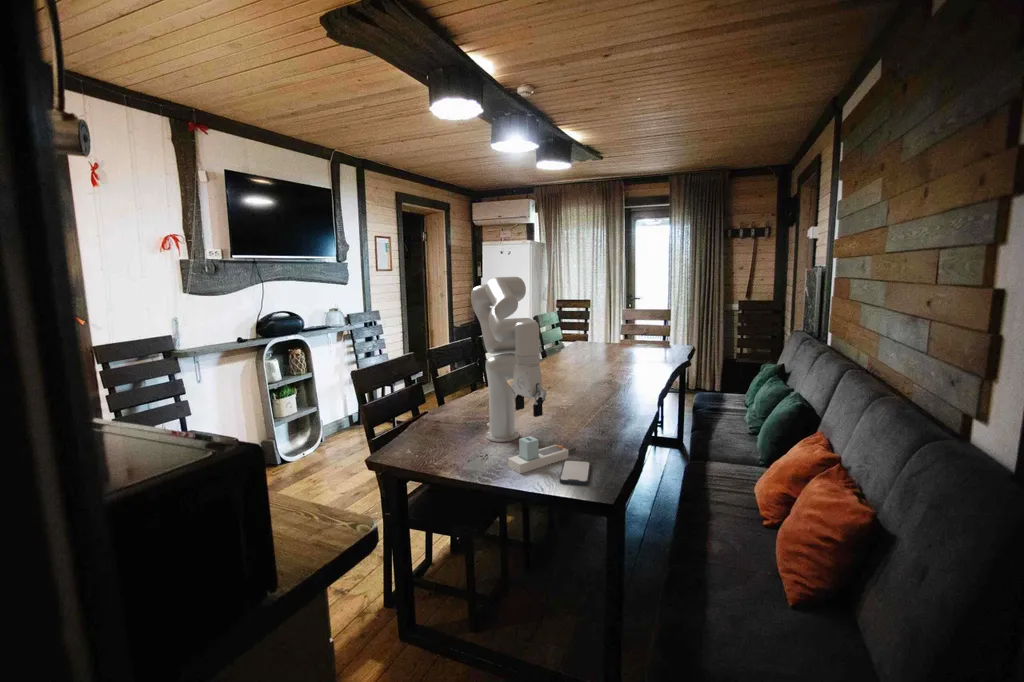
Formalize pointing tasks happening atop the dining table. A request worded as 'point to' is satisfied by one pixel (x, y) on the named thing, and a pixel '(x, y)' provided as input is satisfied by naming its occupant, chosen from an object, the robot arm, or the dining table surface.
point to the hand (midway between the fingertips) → (528, 412)
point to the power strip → (540, 458)
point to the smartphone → (575, 473)
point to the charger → (528, 448)
